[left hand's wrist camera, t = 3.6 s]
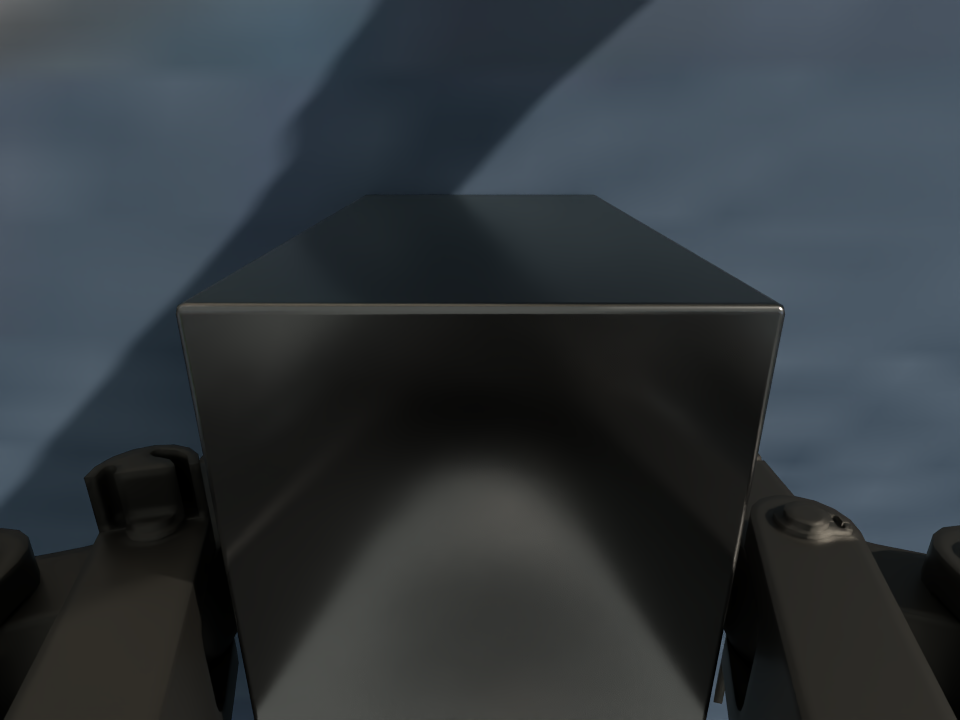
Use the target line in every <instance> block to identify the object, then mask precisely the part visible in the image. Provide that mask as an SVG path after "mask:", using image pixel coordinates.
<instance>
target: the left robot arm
mask: <svg viewBox="0 0 960 720" xmlns="http://www.w3.org/2000/svg"><path fill="white" fill-rule="evenodd" d="M84 480H85V483H86V487H87V490H88V494H89V497H90V501H91V504H92V508H93V511H94V515H95V519H96V522H97V526H98V529H99V535H98V537H97V539H96V541H95V543H94V544H93V545H90V546H86V547H81V548H76V549H71V550H66V551H61V552H56V553H51V554H46V555H40V556H34V553H33V550H32V547H31V544H30V541H29V538H28V537H27V536H26V535H25V534H23V533H22V532H21V531H19V530H13V529H5V528H0V720H231V719H232V711H233V703H234V695H235V688H236V680H237V672H238V664H239V662H238V655H237V649H236V644H235V638H234V637H235V635H236V633H237V627H236V622H235V616H234V611H233V606H232V601H231V596H230V591H229V586H228V580H227V575H226V570H225V565H224V560H223V555H222V549H221V544H220V539H219V534H218V529H217V524H216V519H215V513H214V508H213V503H212V498H211V493H210V488H209V482H208V477H207V472H206V467H205V462H204V457H203V456H202V457H201V458H200V461H199V456H198V454H197V453H196V452H195V451H193V450H192V449H190V448H189V447H184V446H179V445H154V446H149V447H143V448H138V449H133V450H131V451H128V452H125V453H122V454H119V455H116V456H114V457H111V458H110V459H108V460H106V461H104V462H103V463H101V464H99V465H97V466H96V467H94V468H93V469H92V470H91V471H90V472H89V473H88V474H87V475H86V476H85V477H84ZM724 631H725V633H726V638H725V644H724V649H723V654H722V659H721V664H720V669H719V674H718V679H717V684H716V689H715V696H714V702H716V703H720V704H722V701H723V696H724V691H725V694H726V702H727V709H728V717H729V720H960V525H959V526H951V527H943V528H941V529H940V530H938V531H937V532H936V533H934V534H933V536H932V539H931V542H930V545H929V548H928V551H927V554H924V553H919V552H913V551H908V550H903V549H898V548H893V547H888V546H883V545H877V544H873V543H870V542H866V541H865V539H864V538H863V536H862V534H861V532H860V531H859V529H858V528H857V527H856V526H855V525H854V523H853V522H852V521H851V520H850V519H849V518H847V517H846V516H844V515H843V514H841V513H840V512H838V511H837V510H835V509H833V508H831V507H829V506H826V505H824V504H821V503H819V502H817V501H814V500H810V499H805V498H801V497H797V496H794V495H793V494H792V493H791V491H790V490H789V489H788V488H787V487H786V486H785V484H784V483H783V482H782V481H781V480H780V479H779V477H778V476H777V475H776V474H775V473H774V472H773V470H772V469H771V468H770V467H769V466H768V464H767V463H766V462H765V461H764V460H761V456H760V455H759V454H758V455H757V460H756V466H755V471H754V476H753V481H752V486H751V491H750V496H749V502H748V507H747V512H746V517H745V522H744V527H743V532H742V538H741V543H740V548H739V553H738V558H737V563H736V568H735V574H734V579H733V584H732V589H731V594H730V599H729V604H728V610H727V615H726V620H725V625H724Z"/></svg>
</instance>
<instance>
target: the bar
mask: <svg viewBox="0 0 960 720" xmlns="http://www.w3.org/2000/svg"><path fill="white" fill-rule="evenodd" d="M176 317H177V323H178V328H179V333H180V338H181V343H182V348H183V354H184V359H185V364H186V369H187V374H188V379H189V385H190V390H191V395H192V400H193V405H194V410H195V415H196V421H197V426H198V431H199V436H200V441H201V446H202V452H203V457H204V462H205V467H206V472H207V477H208V482H209V488H210V493H211V498H212V503H213V508H214V513H215V519H216V524H217V529H218V534H219V539H220V544H221V549H222V555H223V560H224V565H225V570H226V575H227V580H228V586H229V591H230V596H231V601H232V606H233V611H234V616H235V622H236V627H237V632H238V637H239V642H240V647H241V653H242V658H243V663H244V668H245V673H246V678H247V683H248V689H249V694H250V699H251V704H252V709H253V714H254V720H706V717H707V712H708V707H709V702H710V697H711V692H712V687H713V681H714V676H715V671H716V666H717V661H718V656H719V651H720V645H721V640H722V635H723V630H724V625H725V620H726V615H727V610H728V604H729V599H730V594H731V589H732V584H733V579H734V574H735V568H736V563H737V558H738V553H739V548H740V543H741V538H742V532H743V527H744V522H745V517H746V512H747V507H748V502H749V496H750V491H751V486H752V481H753V476H754V471H755V466H756V460H757V455H758V450H759V445H760V440H761V435H762V430H763V424H764V419H765V414H766V409H767V404H768V399H769V394H770V388H771V383H772V378H773V373H774V368H775V363H776V358H777V352H778V347H779V342H780V337H781V332H782V327H783V322H784V317H785V311H784V307H783V305H781V304H780V303H778V302H776V301H775V300H773V299H771V298H769V297H768V296H766V295H764V294H763V293H761V292H759V291H758V290H756V289H754V288H752V287H751V286H749V285H747V284H746V283H744V282H742V281H740V280H739V279H737V278H735V277H734V276H732V275H730V274H729V273H727V272H725V271H723V270H722V269H720V268H718V267H717V266H715V265H713V264H712V263H710V262H708V261H706V260H705V259H703V258H701V257H700V256H698V255H696V254H694V253H693V252H691V251H689V250H688V249H686V248H684V247H683V246H681V245H679V244H677V243H676V242H674V241H672V240H671V239H669V238H667V237H666V236H664V235H662V234H660V233H659V232H657V231H655V230H654V229H652V228H650V227H649V226H647V225H645V224H643V223H642V222H640V221H638V220H637V219H635V218H633V217H631V216H630V215H628V214H626V213H625V212H623V211H621V210H620V209H618V208H616V207H614V206H613V205H611V204H609V203H608V202H606V201H604V200H603V199H601V198H599V197H597V196H595V195H365V196H363V197H361V198H359V199H358V200H356V201H354V202H353V203H351V204H349V205H348V206H346V207H344V208H343V209H341V210H339V211H337V212H336V213H334V214H332V215H331V216H329V217H327V218H326V219H324V220H322V221H320V222H319V223H317V224H315V225H314V226H312V227H310V228H309V229H307V230H305V231H303V232H302V233H300V234H298V235H297V236H295V237H293V238H292V239H290V240H288V241H286V242H285V243H283V244H281V245H280V246H278V247H276V248H275V249H273V250H271V251H269V252H268V253H266V254H264V255H263V256H261V257H259V258H258V259H256V260H254V261H252V262H251V263H249V264H247V265H246V266H244V267H242V268H241V269H239V270H237V271H235V272H234V273H232V274H230V275H229V276H227V277H225V278H224V279H222V280H220V281H219V282H217V283H215V284H213V285H212V286H210V287H208V288H207V289H205V290H203V291H202V292H200V293H198V294H196V295H195V296H193V297H191V298H190V299H188V300H186V301H185V302H183V303H181V304H179V305H178V306H177V310H176Z"/></svg>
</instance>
